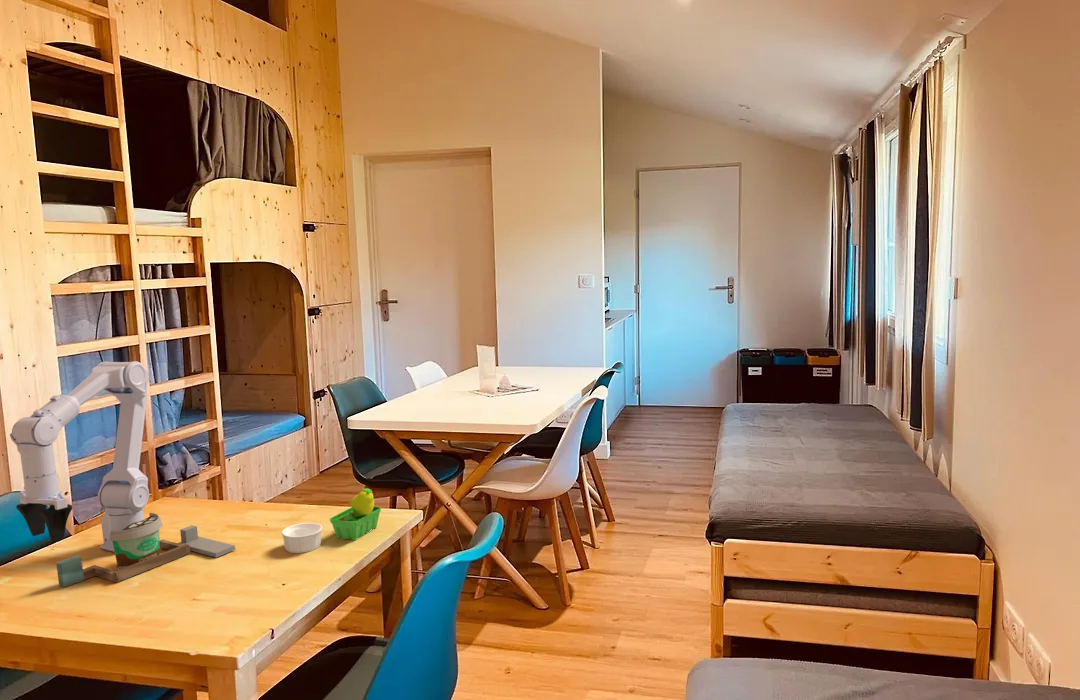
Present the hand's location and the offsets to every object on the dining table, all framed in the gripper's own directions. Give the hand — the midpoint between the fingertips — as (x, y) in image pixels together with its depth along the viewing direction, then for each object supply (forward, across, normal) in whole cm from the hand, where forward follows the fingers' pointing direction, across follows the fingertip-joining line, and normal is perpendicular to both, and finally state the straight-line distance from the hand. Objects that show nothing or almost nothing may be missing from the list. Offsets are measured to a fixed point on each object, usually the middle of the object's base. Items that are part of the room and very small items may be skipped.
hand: (48, 537), depth 157 cm
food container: (+11, +9, +15) cm, 20 cm away
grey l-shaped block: (+10, +13, +27) cm, 32 cm away
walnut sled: (+10, +7, +12) cm, 17 cm away
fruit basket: (+11, +39, +50) cm, 64 cm away
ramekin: (+11, +33, +38) cm, 51 cm away
